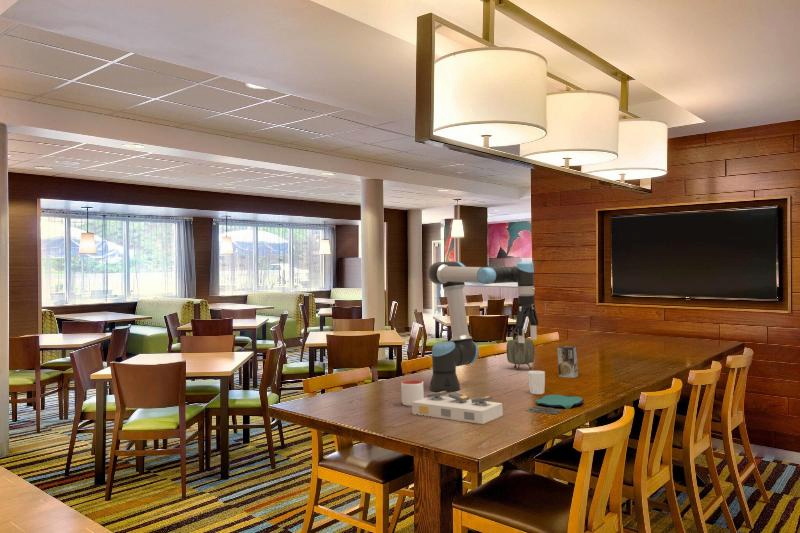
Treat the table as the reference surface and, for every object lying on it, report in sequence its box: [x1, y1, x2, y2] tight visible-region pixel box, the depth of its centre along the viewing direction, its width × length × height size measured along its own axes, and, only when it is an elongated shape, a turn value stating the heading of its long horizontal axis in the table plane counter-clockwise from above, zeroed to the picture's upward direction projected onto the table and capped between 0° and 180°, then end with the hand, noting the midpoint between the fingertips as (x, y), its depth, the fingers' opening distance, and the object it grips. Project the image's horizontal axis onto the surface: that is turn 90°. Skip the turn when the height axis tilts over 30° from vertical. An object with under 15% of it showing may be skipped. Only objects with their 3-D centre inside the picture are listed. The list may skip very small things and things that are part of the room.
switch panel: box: [411, 395, 504, 425], centre depth 252 cm, size 34×16×6 cm, turn 52°
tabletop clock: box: [506, 327, 536, 371], centre depth 356 cm, size 14×9×25 cm, turn 46°
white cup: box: [527, 370, 546, 395], centre depth 289 cm, size 8×8×10 cm
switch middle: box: [448, 391, 470, 402], centre depth 254 cm, size 7×5×1 cm
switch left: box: [426, 391, 448, 398], centre depth 261 cm, size 7×5×1 cm
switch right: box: [471, 395, 493, 403], centre depth 247 cm, size 7×5×1 cm
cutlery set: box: [524, 394, 584, 416], centre depth 262 cm, size 20×30×2 cm, turn 140°
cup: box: [400, 379, 425, 407], centre depth 275 cm, size 10×10×10 cm
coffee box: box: [556, 345, 579, 379], centre depth 329 cm, size 9×6×16 cm
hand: (527, 341), depth 282 cm, fingers open, 13 cm apart
